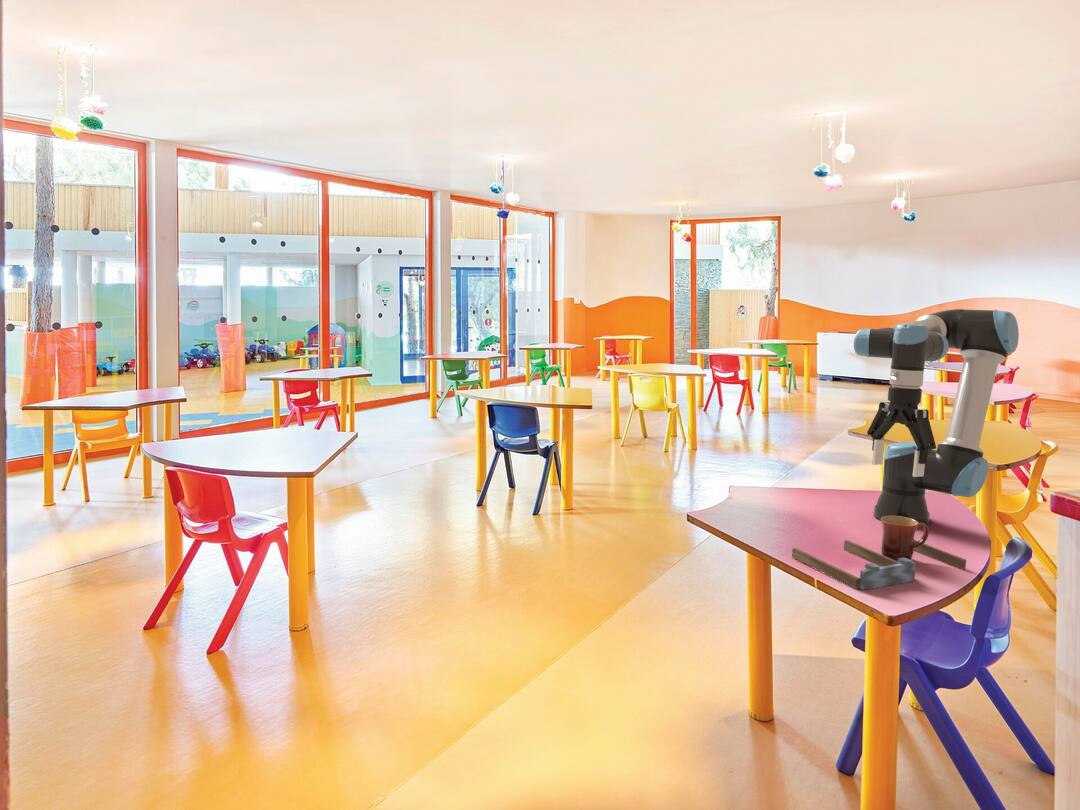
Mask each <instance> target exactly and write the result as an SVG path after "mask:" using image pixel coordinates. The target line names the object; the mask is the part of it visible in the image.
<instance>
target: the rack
mask: <svg viewBox="0 0 1080 810" xmlns="http://www.w3.org/2000/svg"><path fill="white" fill-rule="evenodd" d="M917 541H918V540H916V539H914V542H917ZM791 549H792V552H791V558H792V557H793V558H792V559H794V558H795V559H794V560H796V559H797V560H796V561H798V560H799V561H798V562H800V561H801V562H800V563H802V562H804V563H806V564H808V565H810V566H812V567H814V568H816V569H818V570H820V571H822V572H824V573H825V574H824V573H823V574H824V575H826V574H827V575H826V576H828V575H829V576H828V577H830V576H832V577H833V578H832V577H831V578H832V579H834V578H835V579H834V580H836V579H837V580H836V581H838V582H840V581H841V582H840V583H842V582H843V583H842V584H844V583H845V584H844V585H846V584H847V585H846V586H848V585H849V586H848V587H850V588H852V587H853V588H852V589H854V590H861V589H862V590H861V591H865V590H864V589H867V590H872V589H871V588H873V589H877V588H876V587H878V588H883V587H888V585H889V586H894V585H899V583H900V584H903V583H904V584H905V583H909V582H910V581H911V582H915V578H916V577H915V576H916V567H917V562H915V561H913V560H912V559H911V560H909V559H907V558H898V561H895V560H893V559H891V558H888V557H886V556H884V555H882V553H879V552H876V551H874V550H872V549H869V548H867V547H864V546H862V545H860V544H858V543H855V542H853V541H850V540H848V539H846V540H844V541H843V550H844V551H846V552H849V553H850V554H853V555H854V556H857V557H860V558H862V559H864V560H867V561H869V563H865V565H864V568H865V569H860V573H859V577H858V576H855V575H853V574H851V573H849V572H847V571H846V570H843V569H841V568H839V567H837V566H835V565H833V564H831V563H828V562H827V561H824V560H822V559H820V558H818V557H816V556H814V555H812V554H809V553H808V552H805V551H804V550H801V549H798V548H797V547H792V548H791ZM913 552H916V553H918V554H921V555H924V556H926V557H929V558H931V559H934V560H937V561H939V562H942V563H944V564H947V565H949V566H951V565H952V567H954V568H956V567H957V569H959V570H961V569H962V570H961V571H964V570H963V569H965V570H966V568H967V559H966V558H962V557H961V556H958V555H955V554H952V553H949V552H948V551H945V550H942V549H939V548H937V547H934V546H932V545H929V544H926V543H924V544H922V545H921V546H919V547H916V548H913ZM804 563H803V564H804ZM806 564H805V565H806ZM808 565H807V566H808ZM810 566H809V567H810ZM812 567H811V568H812ZM814 568H813V569H814ZM816 569H815V570H816ZM818 570H817V571H818ZM820 571H819V572H820ZM822 572H821V573H822ZM893 584H894V585H893ZM882 586H883V587H882Z"/></svg>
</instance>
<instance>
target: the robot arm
mask: <svg viewBox="0 0 1080 810" xmlns="http://www.w3.org/2000/svg"><path fill="white" fill-rule="evenodd" d="M1018 344H1019V324H1018V321H1017V318H1016V316H1015V315H1014V314H1013V312H1011V311H1005V310H998V309H994V310H993V309H991V310H990V309H988V310H987V309H962V308H955V309H948V310H946V309H945V310H941V311H937V312H933V313H929V314H928V313H927V314H925V315H923V316H920V317H919V318H917V320H914V321H913V320H912V321H908V322H905V323H899V324H895V325H891V326H887V327H882V328H870V327H869V328H861V329H859V330H858V331H857V332H856V333H855V336H854V338H853V350H854V352H855V353H856V355H858V356H859V357H867V358H881V359H891V365H890V374H889V384H890V385H889V387H888V392H887V401H884V402H883V401H882V402H879V404H878V410H877V412H876V414H875V416H874V417H873V420H872V422H871V424H870V426H869V427H868V430H867V432H866V434H867V435H868V436H870V437H871V438H872V448H871V449H872V451H873V452H872V461H871V462H872V463H871V464H872V465H874V466H876V465H877V466H878V465H883V473H882V474H883V475H882V489H881V492H880V495H879V497H878V499H877V501H876V505H874V509H873V517H874V518H875V519H877V520H879V521H881V518H882V517H884V516H902V517H907V518H911V519H914V520H916V521H917V522H918V523H924V524H926V525H927V523H928V522H929V523H930V518H931V517H930V512H929V510H928V504H927V501H926V500H927V499H926V490H927V491H932V492H937V493H940V494H941V493H942V494H945V495H946V494H947V495H952V496H954V497H964V498H972V497H974V496H976V495H977V494H978V493H979V492H980V491H981V490H982V488H983V486H984V484H985V482H986V480H987V477H988V473H989V470H988V469H989V462H988V460H987V459H986V458H985V457H984V451H983V450H982V448H981V447H980V444H981V443H980V442H981V438H982V435H983V430H984V426H985V422H986V417H987V413H988V410H989V405H990V400H991V396H992V391H993V387H994V385H995V384H994V383H995V379H996V376H997V370H998V366H999V365H1000V364H1002V363H1003V362H1005V361H1006V359H1007V354H1012V353H1014V352H1015V351H1016V350H1017V348H1018ZM949 349H956V350H959V355H961V357H962V358H963V364H962V368H961V372H960V376H959V381H958V385H957V389H956V393H955V396H954V397H955V398H954V402H953V404H952V405H953V406H952V410H951V415H950V419H949V423H948V427H947V431H946V436H945V438H944V440H941V441H940V442H938V444H936V442H935V437H934V434H933V430H932V426H931V423H930V418H929V414H930V411H929V409H925V408H924V409H920V408H919V407H918V406H919V404H920V403H921V401H922V393H923V390H922V388H921V387H923V384H924V383H923V382H924V371H925V365H926V362H927V363H928V362H930V363H933V362H936V361H939V360H941V359H943V358H944V357H945V356H946V355H947V353H948V352H949ZM895 424H900V425H904V426H905V427H906V428H907V429H908V431H909V433H910V435H911V437H912V439H913V441H900V442H892V443H889V444H888V445H887V446H886V448H885V443H886V440H885V436H886V434H888V432H889V431H890V430H891V429H892V427H894V425H895ZM884 451H885V454H884ZM929 523H928V524H929Z"/></svg>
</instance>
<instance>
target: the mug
mask: <svg viewBox="0 0 1080 810" xmlns="http://www.w3.org/2000/svg"><path fill="white" fill-rule="evenodd" d="M880 521H881V522H880V523H881V526H882V537H881V546H880V547H881V548H880V549H881V550H880V552H881V553H880V554H881V555H884V556H886V557H888V558H891V559H893V560H895V561H898V558H907V559H909V560H912V558H913V555H914V550H913V548H916V547H919V546H921V545H922V544H925V543H926V541H927V539H928V538H929V532H930V528H929V526H928V525H927V524H924V523H918V522H917V521H916V520H914V519H911V518H907V517H902V516H884V517H882V518H881V520H880ZM919 528H923V533H922V536H921V538H920V539H919V540H916V541H917V542H914V540H915V536H916V535H915V534H916V531H917V529H919Z"/></svg>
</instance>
